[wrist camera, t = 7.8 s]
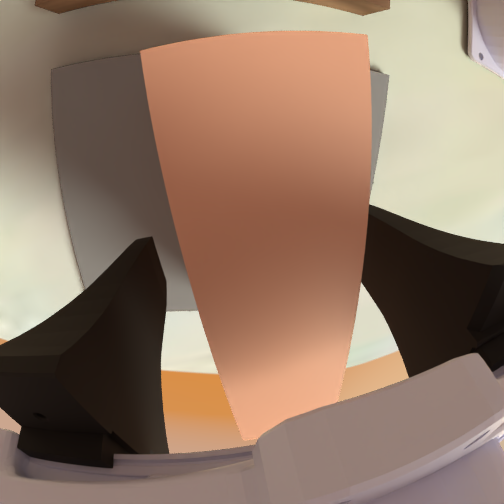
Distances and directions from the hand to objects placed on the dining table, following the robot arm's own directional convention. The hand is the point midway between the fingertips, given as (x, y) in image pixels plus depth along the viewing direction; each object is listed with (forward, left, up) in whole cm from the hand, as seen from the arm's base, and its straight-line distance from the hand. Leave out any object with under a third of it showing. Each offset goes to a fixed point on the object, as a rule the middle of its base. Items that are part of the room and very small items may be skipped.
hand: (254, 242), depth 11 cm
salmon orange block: (0, 0, -4) cm, 4 cm away
